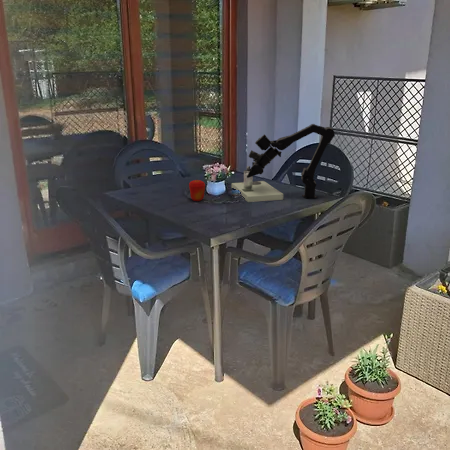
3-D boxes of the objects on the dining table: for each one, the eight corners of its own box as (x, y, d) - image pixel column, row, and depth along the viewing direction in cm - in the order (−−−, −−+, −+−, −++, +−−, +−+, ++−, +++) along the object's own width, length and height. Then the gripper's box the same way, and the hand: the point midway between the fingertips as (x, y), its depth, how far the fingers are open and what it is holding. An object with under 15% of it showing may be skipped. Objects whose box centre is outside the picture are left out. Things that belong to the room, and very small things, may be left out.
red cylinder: (208, 199, 264) (208, 178, 260) (197, 203, 258) (196, 181, 254) (197, 196, 270) (197, 175, 266) (185, 199, 264) (185, 178, 260)
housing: (283, 199, 266) (283, 193, 265) (248, 202, 260) (248, 196, 259) (263, 186, 293) (263, 180, 292) (231, 188, 288) (231, 182, 287)
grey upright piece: (253, 188, 270) (254, 167, 266) (245, 189, 269) (245, 167, 265) (250, 186, 275) (251, 165, 271) (242, 187, 273) (242, 165, 270)
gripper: (257, 142, 273) (237, 162, 277) (257, 148, 255) (236, 169, 259) (271, 157, 275) (251, 176, 279) (272, 164, 257) (250, 184, 262)
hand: (247, 176), depth 270 cm, fingers closed on grey upright piece, 5 cm apart
